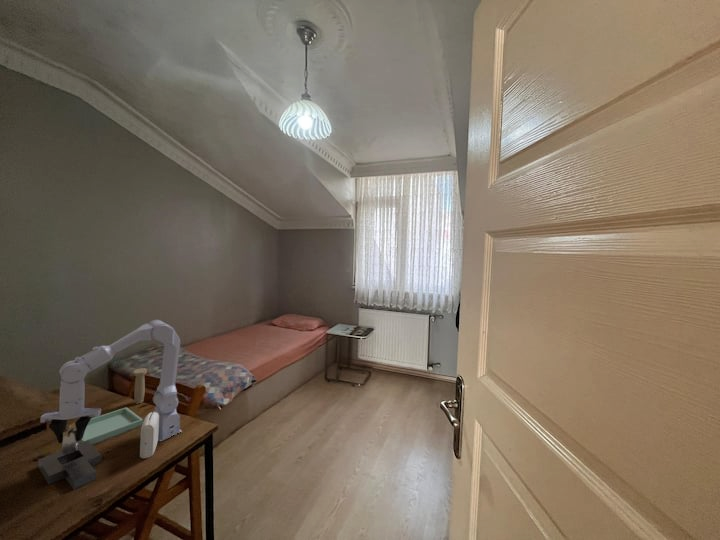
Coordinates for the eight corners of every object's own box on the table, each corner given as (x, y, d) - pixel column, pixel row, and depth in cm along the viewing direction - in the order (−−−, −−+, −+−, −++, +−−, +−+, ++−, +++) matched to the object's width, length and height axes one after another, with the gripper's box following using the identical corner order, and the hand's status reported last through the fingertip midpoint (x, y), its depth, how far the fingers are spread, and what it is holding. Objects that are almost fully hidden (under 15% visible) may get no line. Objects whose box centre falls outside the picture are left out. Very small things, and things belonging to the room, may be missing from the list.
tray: (142, 425, 118) (143, 419, 118) (83, 448, 102) (83, 441, 102) (126, 412, 126) (126, 407, 126) (69, 432, 111) (69, 425, 111)
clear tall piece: (72, 455, 92) (73, 431, 92) (56, 457, 91) (57, 433, 91) (83, 443, 98) (84, 421, 98) (68, 445, 96) (69, 422, 96)
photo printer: (153, 457, 100) (154, 421, 100) (138, 460, 98) (139, 424, 98) (159, 440, 109) (160, 407, 109) (145, 442, 108) (146, 409, 107)
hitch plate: (110, 472, 92) (110, 464, 92) (56, 497, 82) (56, 488, 82) (88, 448, 103) (88, 441, 103) (38, 467, 92) (38, 459, 92)
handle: (146, 398, 139) (147, 367, 139) (144, 404, 134) (145, 372, 133) (133, 400, 137) (135, 368, 136) (131, 406, 131) (132, 373, 131)
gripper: (106, 391, 100) (104, 430, 100) (51, 395, 95) (50, 436, 96) (95, 401, 93) (93, 442, 94) (35, 405, 89) (34, 449, 89)
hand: (71, 440), depth 94 cm, fingers closed on clear tall piece, 4 cm apart
